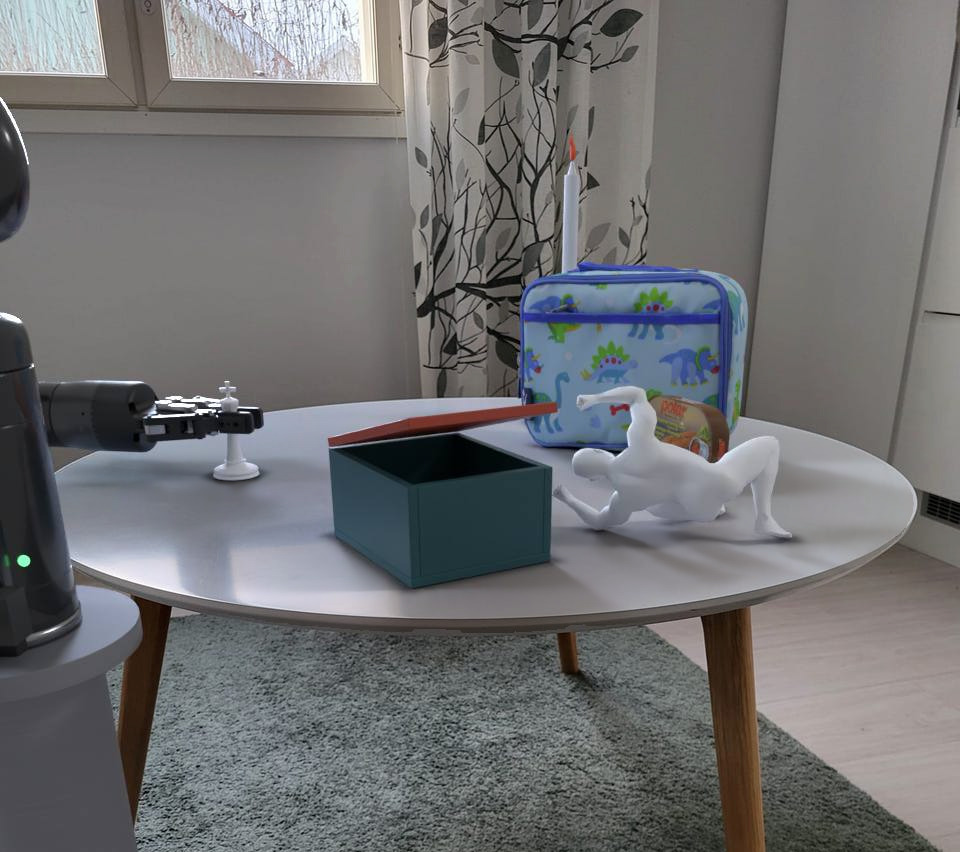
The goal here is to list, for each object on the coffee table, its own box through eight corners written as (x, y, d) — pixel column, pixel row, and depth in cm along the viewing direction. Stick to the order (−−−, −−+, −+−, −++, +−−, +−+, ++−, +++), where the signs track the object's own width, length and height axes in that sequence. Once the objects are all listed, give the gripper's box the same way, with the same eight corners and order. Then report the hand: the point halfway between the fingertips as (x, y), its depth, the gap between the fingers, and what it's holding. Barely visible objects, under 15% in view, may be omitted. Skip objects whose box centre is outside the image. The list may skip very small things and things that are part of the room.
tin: (632, 464, 109) (636, 388, 106) (657, 461, 110) (662, 386, 107) (702, 497, 96) (710, 411, 93) (730, 494, 97) (738, 409, 94)
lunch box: (507, 445, 118) (508, 262, 110) (543, 429, 127) (546, 259, 119) (717, 467, 107) (736, 266, 99) (741, 448, 116) (760, 262, 108)
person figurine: (748, 392, 88) (581, 370, 80) (838, 450, 79) (659, 431, 71) (698, 519, 95) (539, 510, 87) (775, 586, 85) (604, 583, 78)
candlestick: (521, 415, 136) (524, 136, 122) (597, 414, 137) (609, 136, 123) (529, 431, 126) (533, 129, 112) (611, 429, 127) (626, 129, 113)
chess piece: (260, 478, 104) (252, 384, 100) (213, 481, 103) (202, 386, 99) (258, 468, 108) (249, 377, 104) (213, 471, 107) (202, 379, 103)
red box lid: (558, 412, 73) (557, 401, 73) (409, 429, 68) (407, 418, 67) (458, 431, 88) (457, 422, 88) (328, 447, 82) (327, 437, 82)
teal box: (550, 561, 79) (553, 466, 75) (411, 589, 73) (407, 488, 70) (459, 514, 91) (458, 432, 88) (334, 535, 85) (328, 447, 82)
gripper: (65, 391, 98) (228, 395, 95) (132, 371, 110) (277, 375, 108) (78, 464, 101) (236, 470, 98) (141, 437, 113) (283, 442, 111)
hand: (256, 420), depth 103 cm, fingers closed on chess piece
